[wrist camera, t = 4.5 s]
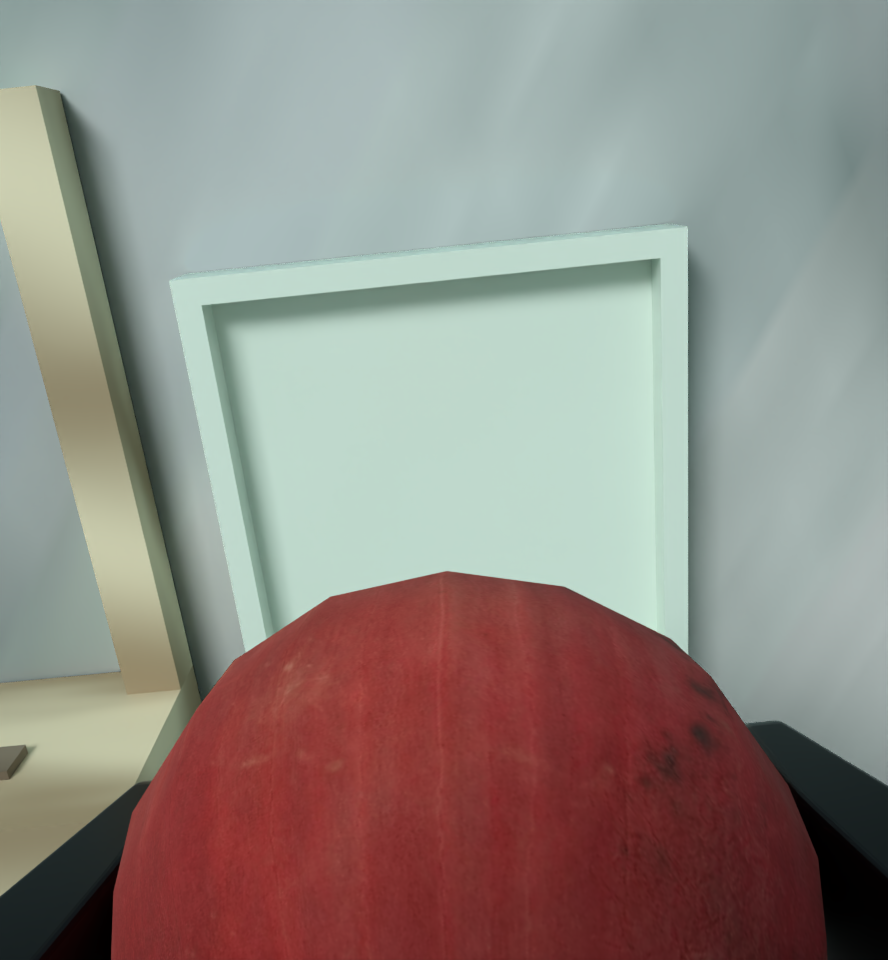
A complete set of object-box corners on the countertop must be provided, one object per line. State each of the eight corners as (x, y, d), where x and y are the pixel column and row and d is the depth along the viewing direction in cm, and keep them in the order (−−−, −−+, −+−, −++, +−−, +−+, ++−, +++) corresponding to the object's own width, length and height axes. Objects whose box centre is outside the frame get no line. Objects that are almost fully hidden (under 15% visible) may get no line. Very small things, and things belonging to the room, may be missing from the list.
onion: (649, 418, 10) (1390, 1206, 2) (701, 810, 12) (1193, 1945, 4) (169, 515, 10) (-592, 1499, 3) (294, 882, 12) (71, 2064, 4)
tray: (673, 647, 20) (688, 676, 18) (268, 685, 20) (258, 716, 19) (670, 223, 16) (688, 226, 15) (186, 273, 17) (168, 280, 15)
